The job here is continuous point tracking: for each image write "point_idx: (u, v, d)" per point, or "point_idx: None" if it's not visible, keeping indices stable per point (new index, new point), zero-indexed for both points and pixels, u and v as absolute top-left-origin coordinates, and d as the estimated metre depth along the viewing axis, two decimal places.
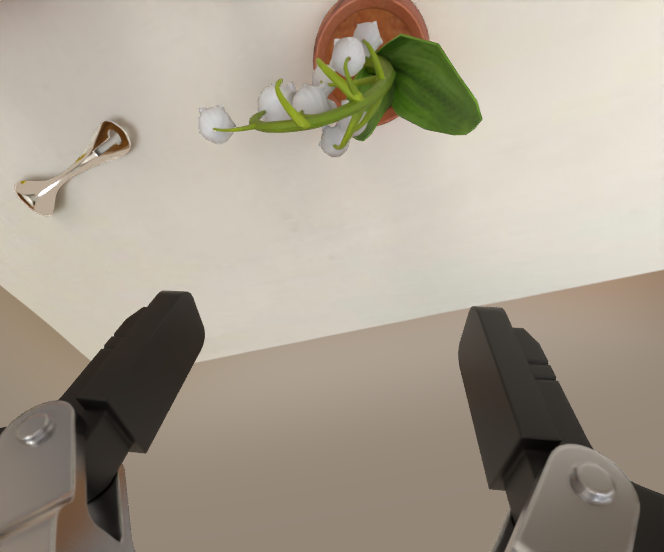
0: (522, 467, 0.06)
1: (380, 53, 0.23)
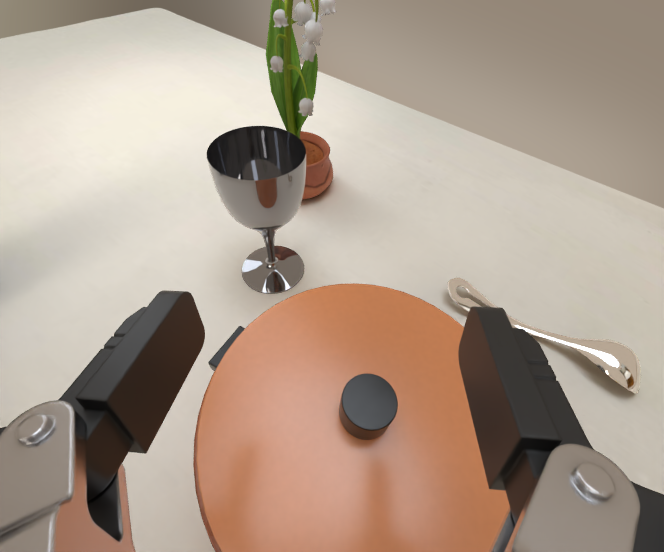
0: (522, 467, 0.06)
1: (286, 128, 0.43)
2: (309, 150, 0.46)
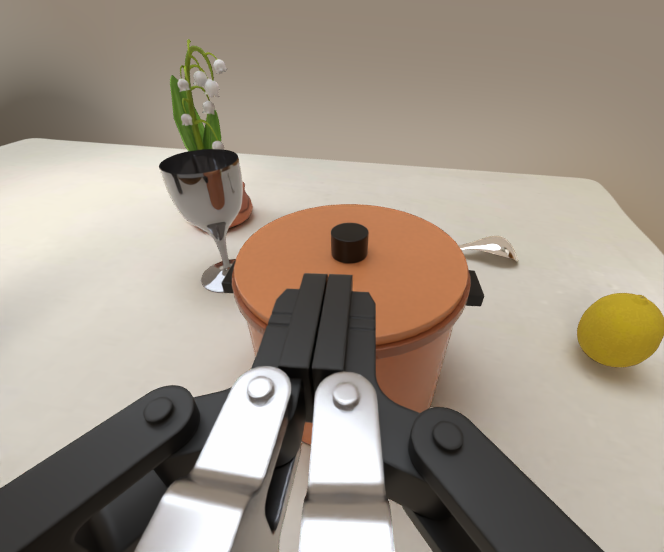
0: None
1: None
2: None
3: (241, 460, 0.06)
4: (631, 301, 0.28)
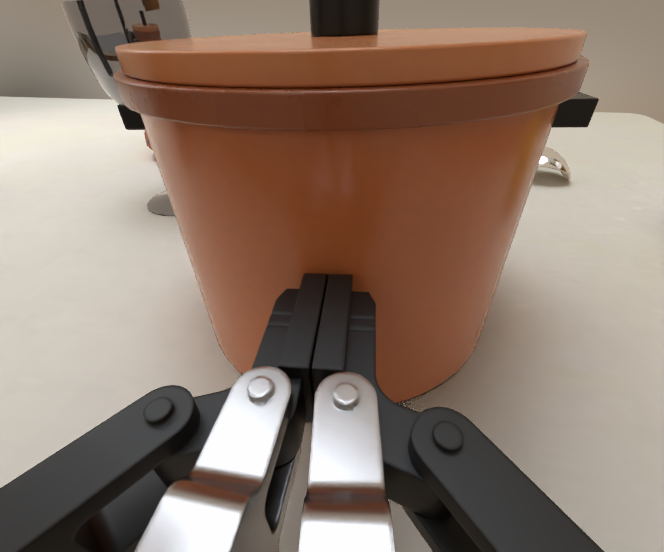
0: None
1: None
2: None
3: (241, 460, 0.06)
4: None
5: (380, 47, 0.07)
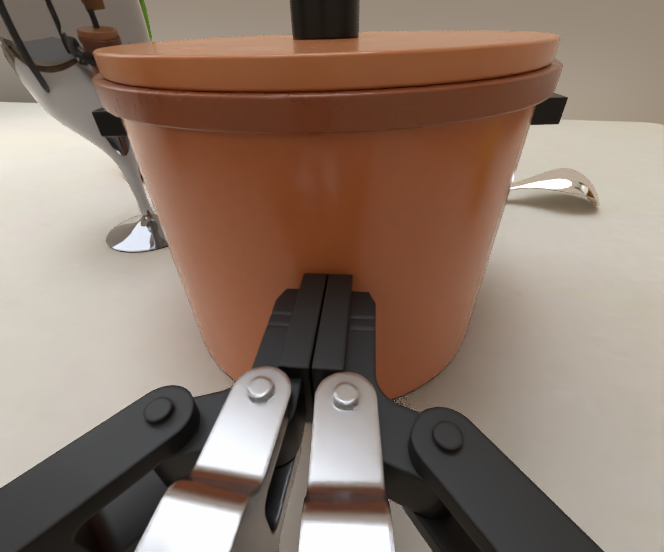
0: None
1: None
2: None
3: (241, 460, 0.06)
4: None
5: (381, 51, 0.07)
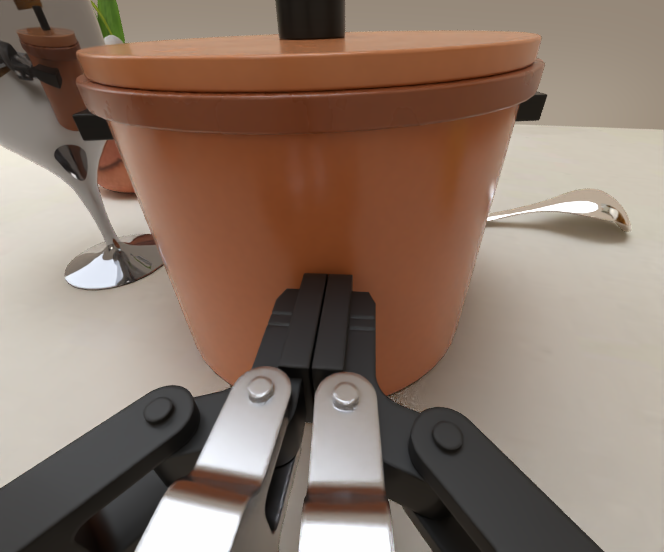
0: None
1: None
2: None
3: (241, 460, 0.06)
4: None
5: (380, 51, 0.07)
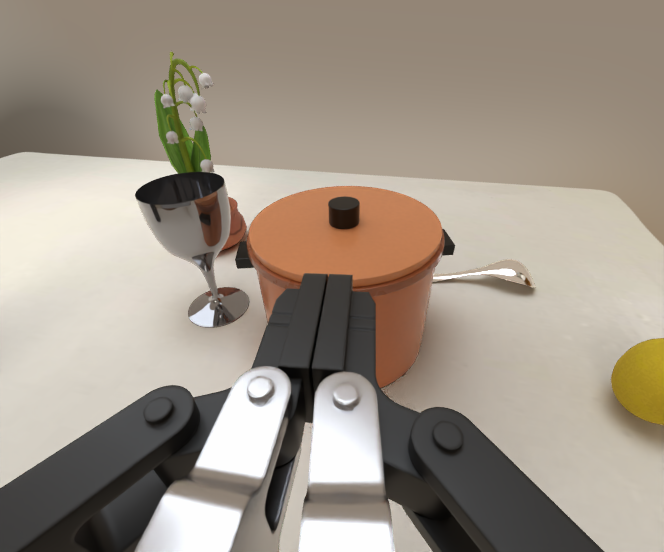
0: None
1: None
2: None
3: (241, 460, 0.06)
4: None
5: (373, 276, 0.23)
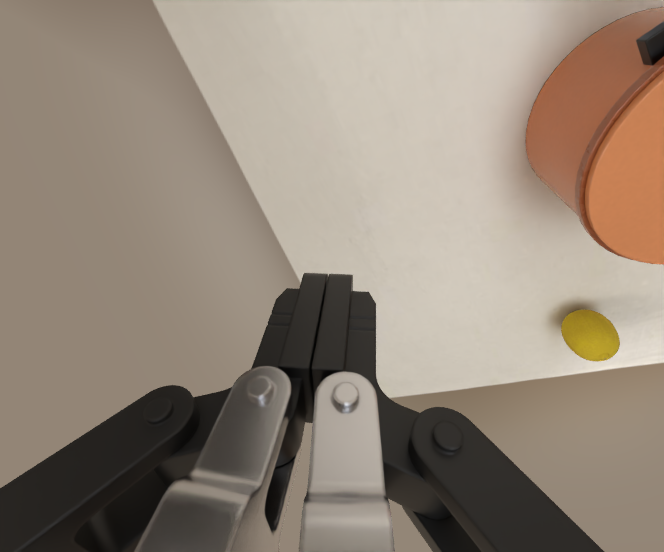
0: None
1: None
2: None
3: (241, 460, 0.06)
4: (601, 353, 0.40)
5: (602, 239, 0.26)
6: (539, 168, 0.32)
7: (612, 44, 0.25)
